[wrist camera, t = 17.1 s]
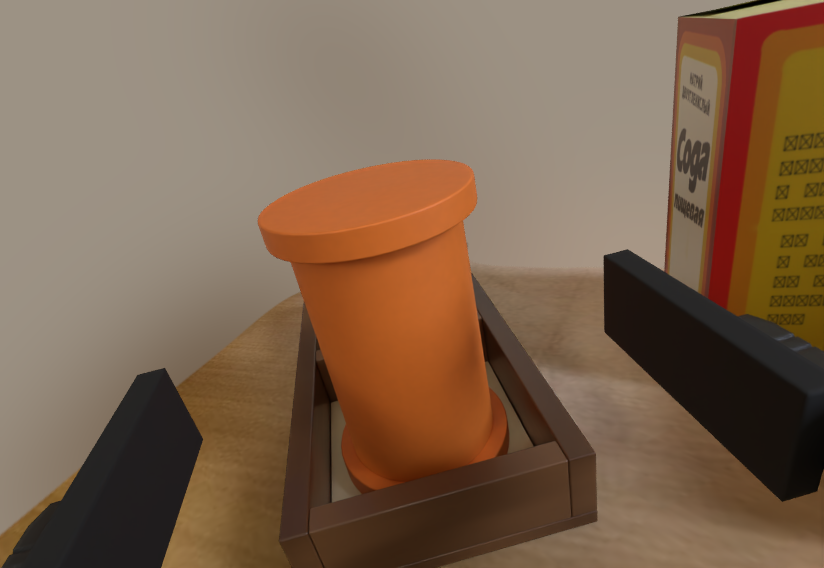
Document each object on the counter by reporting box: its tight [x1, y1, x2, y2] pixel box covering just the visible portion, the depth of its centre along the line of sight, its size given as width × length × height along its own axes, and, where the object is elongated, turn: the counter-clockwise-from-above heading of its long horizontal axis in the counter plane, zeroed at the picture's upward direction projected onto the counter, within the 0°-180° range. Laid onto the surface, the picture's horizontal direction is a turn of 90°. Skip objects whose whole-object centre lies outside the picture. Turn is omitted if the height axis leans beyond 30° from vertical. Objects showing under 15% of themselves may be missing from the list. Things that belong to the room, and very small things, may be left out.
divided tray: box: [279, 273, 597, 568], centre depth 26 cm, size 11×21×4 cm, turn 10°
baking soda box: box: [664, 0, 824, 351], centre depth 21 cm, size 10×6×16 cm
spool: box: [258, 160, 509, 494], centre depth 19 cm, size 8×8×12 cm
